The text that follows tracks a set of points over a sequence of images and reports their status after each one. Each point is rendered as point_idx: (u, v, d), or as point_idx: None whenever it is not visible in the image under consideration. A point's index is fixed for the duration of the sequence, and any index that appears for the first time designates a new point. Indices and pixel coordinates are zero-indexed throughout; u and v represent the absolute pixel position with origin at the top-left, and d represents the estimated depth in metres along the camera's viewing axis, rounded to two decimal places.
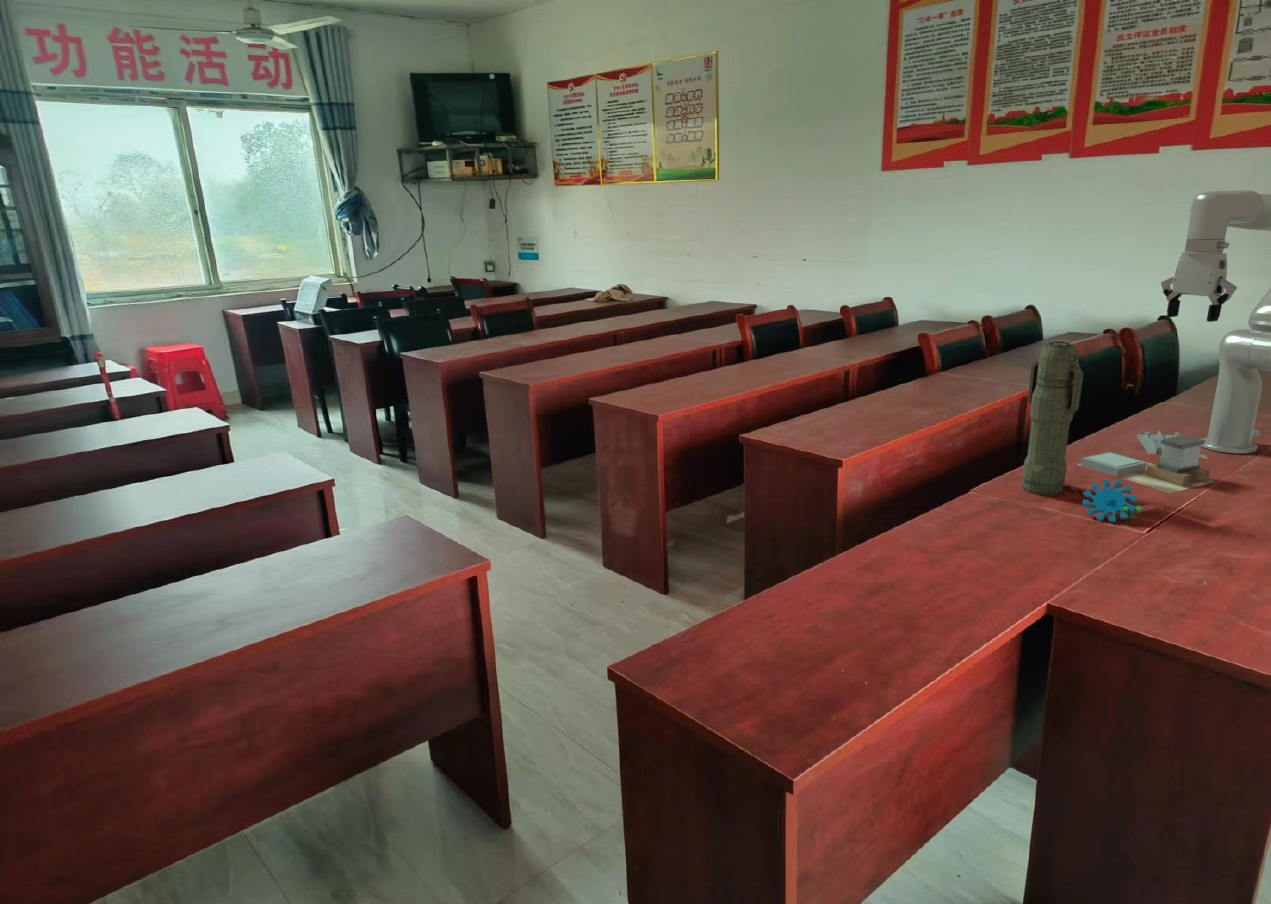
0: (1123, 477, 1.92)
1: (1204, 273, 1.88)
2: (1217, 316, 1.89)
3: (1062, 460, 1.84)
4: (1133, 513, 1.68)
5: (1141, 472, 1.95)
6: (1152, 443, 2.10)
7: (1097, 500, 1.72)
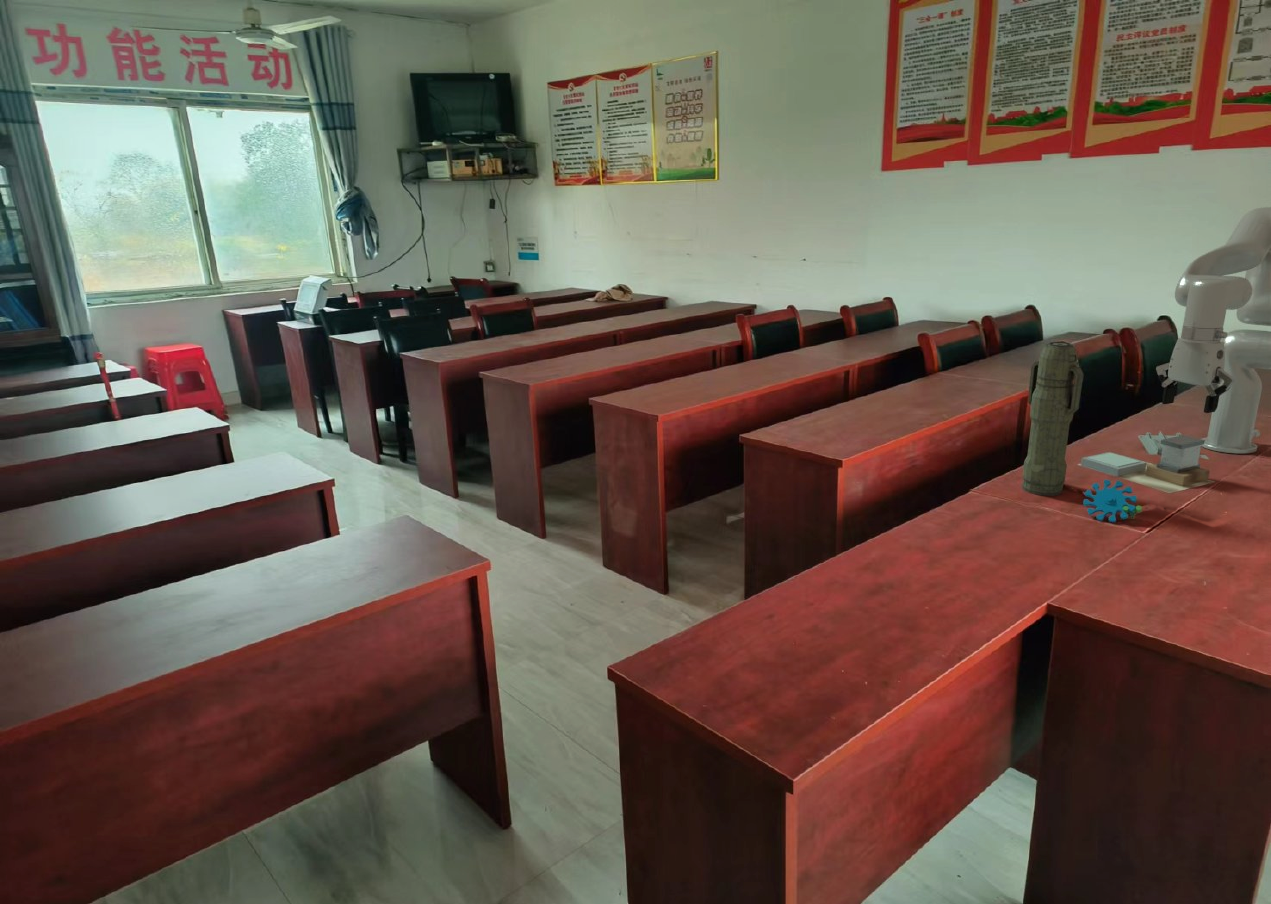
0: (1123, 477, 1.92)
1: (1201, 362, 1.79)
2: (1215, 407, 1.79)
3: (1062, 460, 1.84)
4: (1133, 513, 1.68)
5: (1141, 472, 1.95)
6: (1153, 444, 2.09)
7: (1097, 500, 1.72)
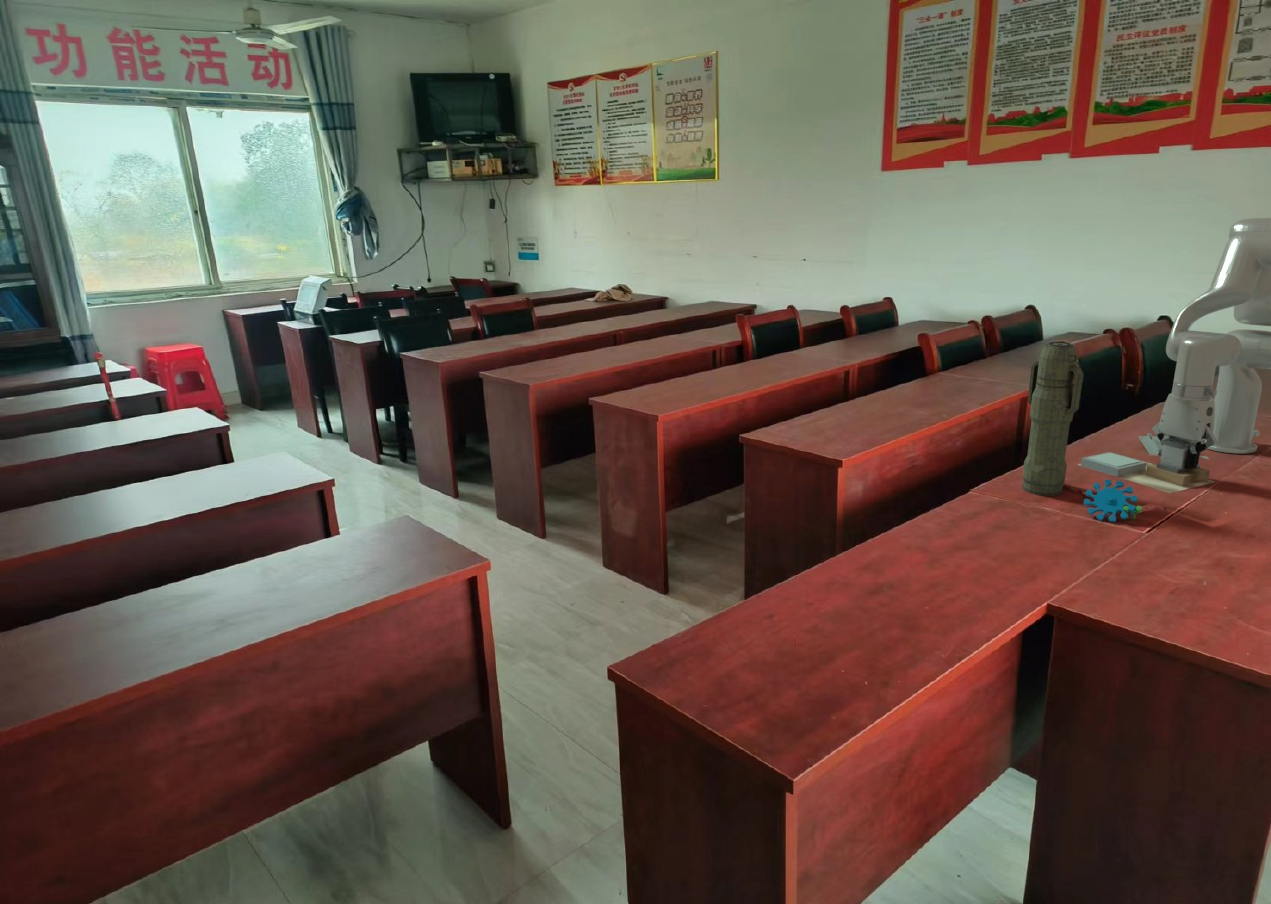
0: (1123, 477, 1.92)
1: (1191, 418, 1.83)
2: (1195, 464, 1.86)
3: (1062, 460, 1.84)
4: (1134, 513, 1.68)
5: (1141, 472, 1.95)
6: (1154, 445, 2.09)
7: (1098, 499, 1.72)
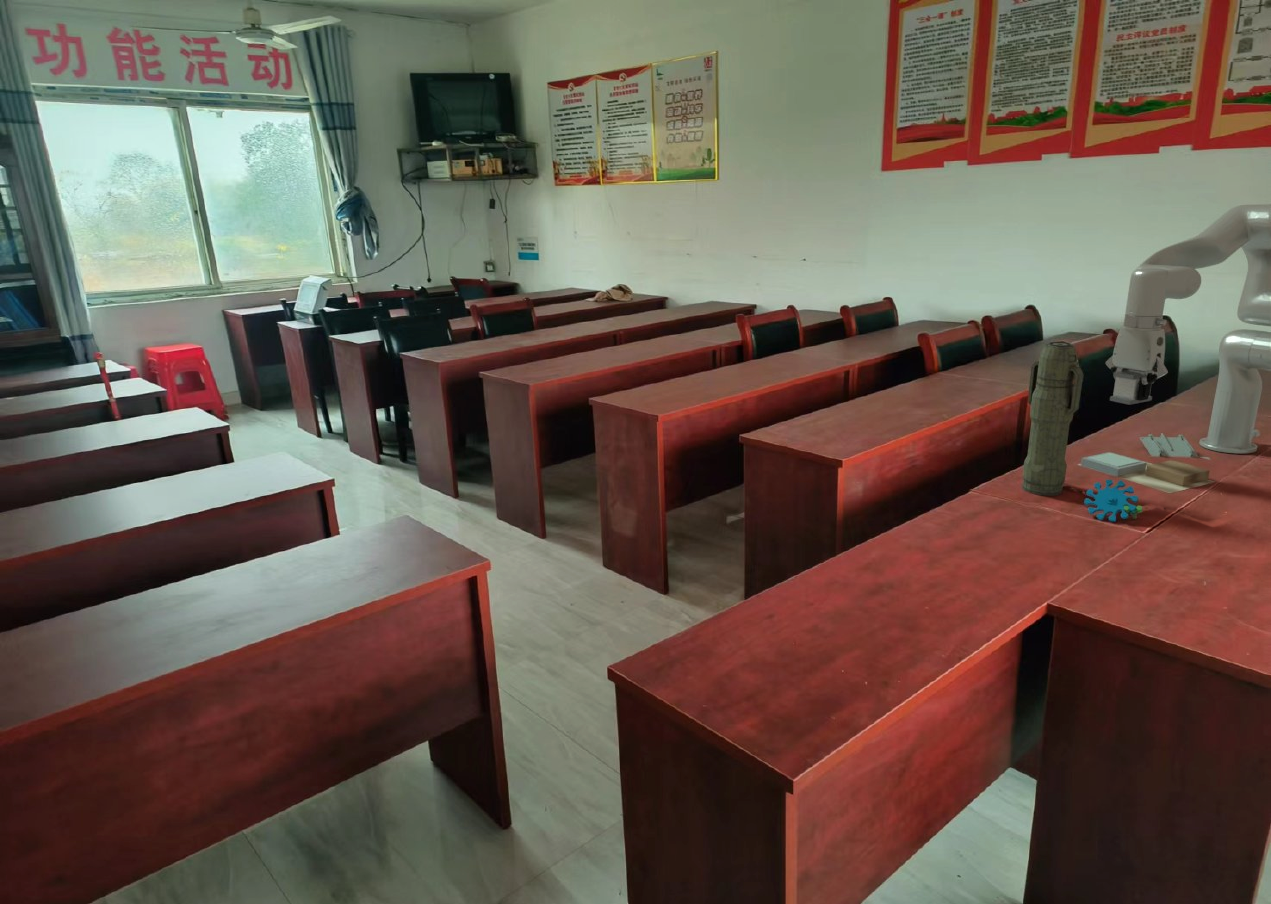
0: (1123, 477, 1.92)
1: (1142, 349, 1.86)
2: (1147, 395, 1.89)
3: (1062, 460, 1.84)
4: (1134, 513, 1.68)
5: (1141, 472, 1.95)
6: (1155, 446, 2.08)
7: (1099, 499, 1.72)
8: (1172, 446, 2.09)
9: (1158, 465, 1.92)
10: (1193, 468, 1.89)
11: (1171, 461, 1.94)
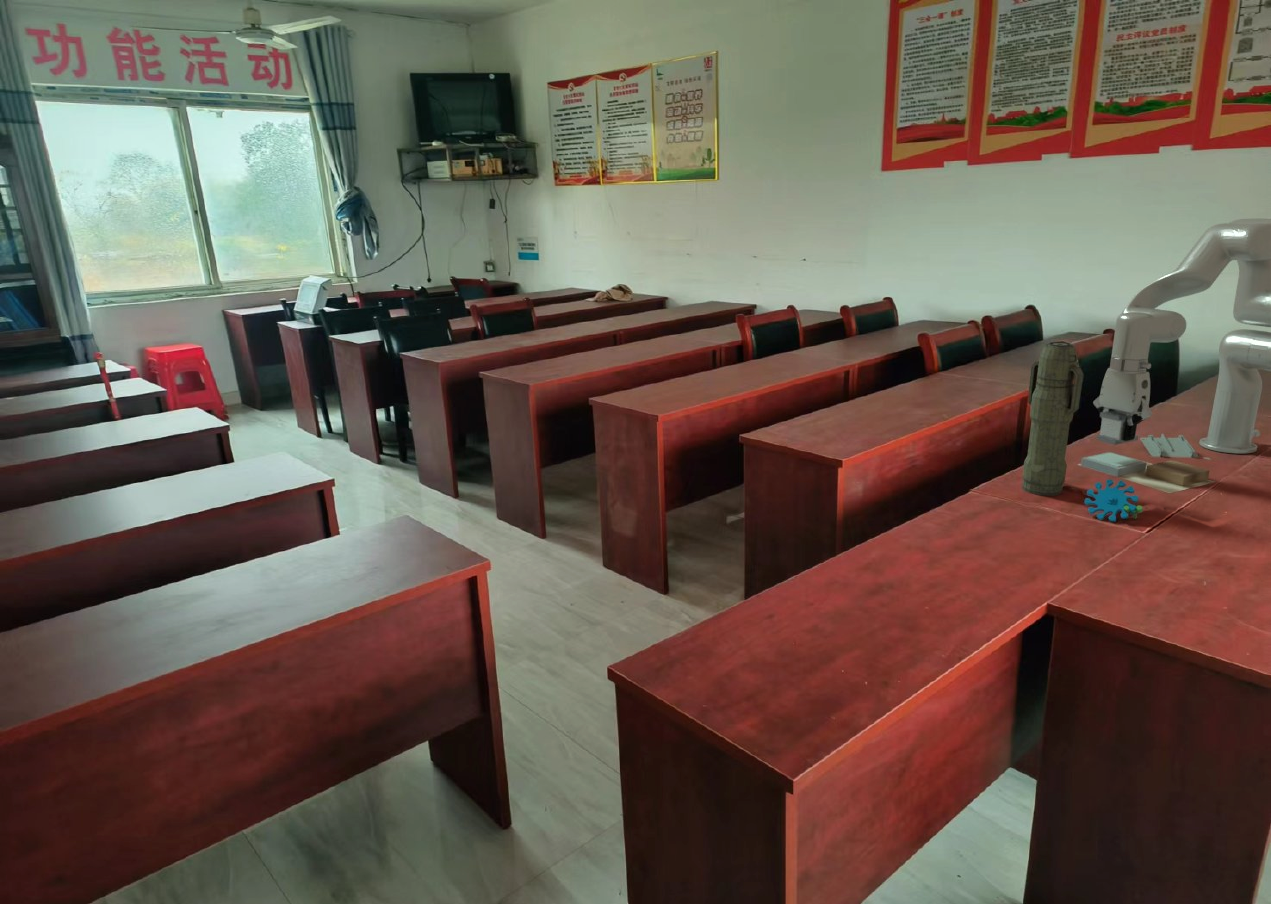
0: (1123, 477, 1.92)
1: (1127, 391, 1.90)
2: (1133, 436, 1.93)
3: (1062, 460, 1.84)
4: (1134, 513, 1.68)
5: (1141, 472, 1.95)
6: (1156, 446, 2.07)
7: (1099, 499, 1.72)
8: (1172, 447, 2.09)
9: (1158, 465, 1.92)
10: (1193, 468, 1.89)
11: (1171, 461, 1.94)
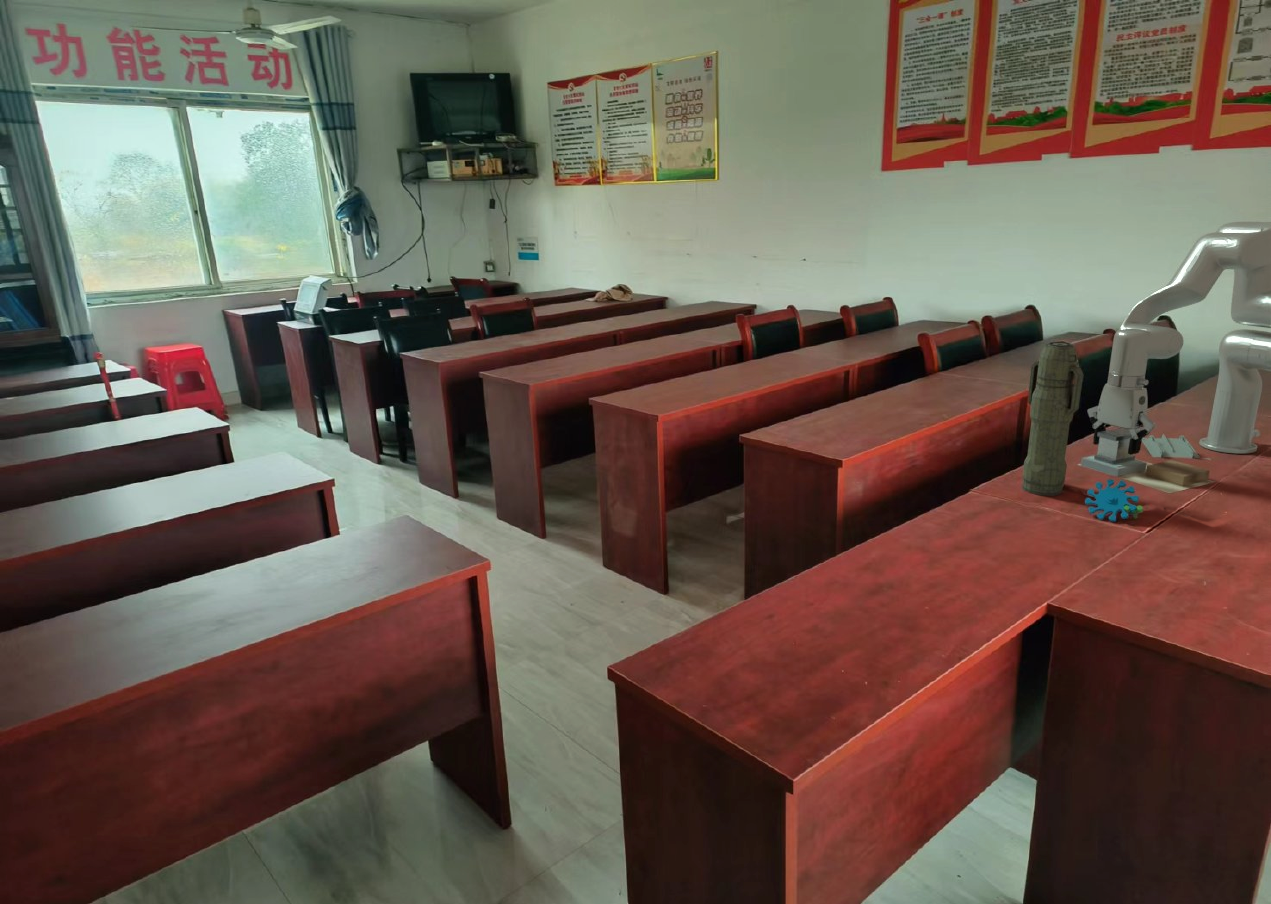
0: (1123, 477, 1.92)
1: (1125, 407, 1.91)
2: (1138, 449, 1.92)
3: (1062, 460, 1.84)
4: (1135, 513, 1.68)
5: (1141, 472, 1.95)
6: (1157, 447, 2.07)
7: (1099, 499, 1.72)
8: (1173, 447, 2.08)
9: (1158, 465, 1.92)
10: (1193, 468, 1.89)
11: (1171, 461, 1.94)
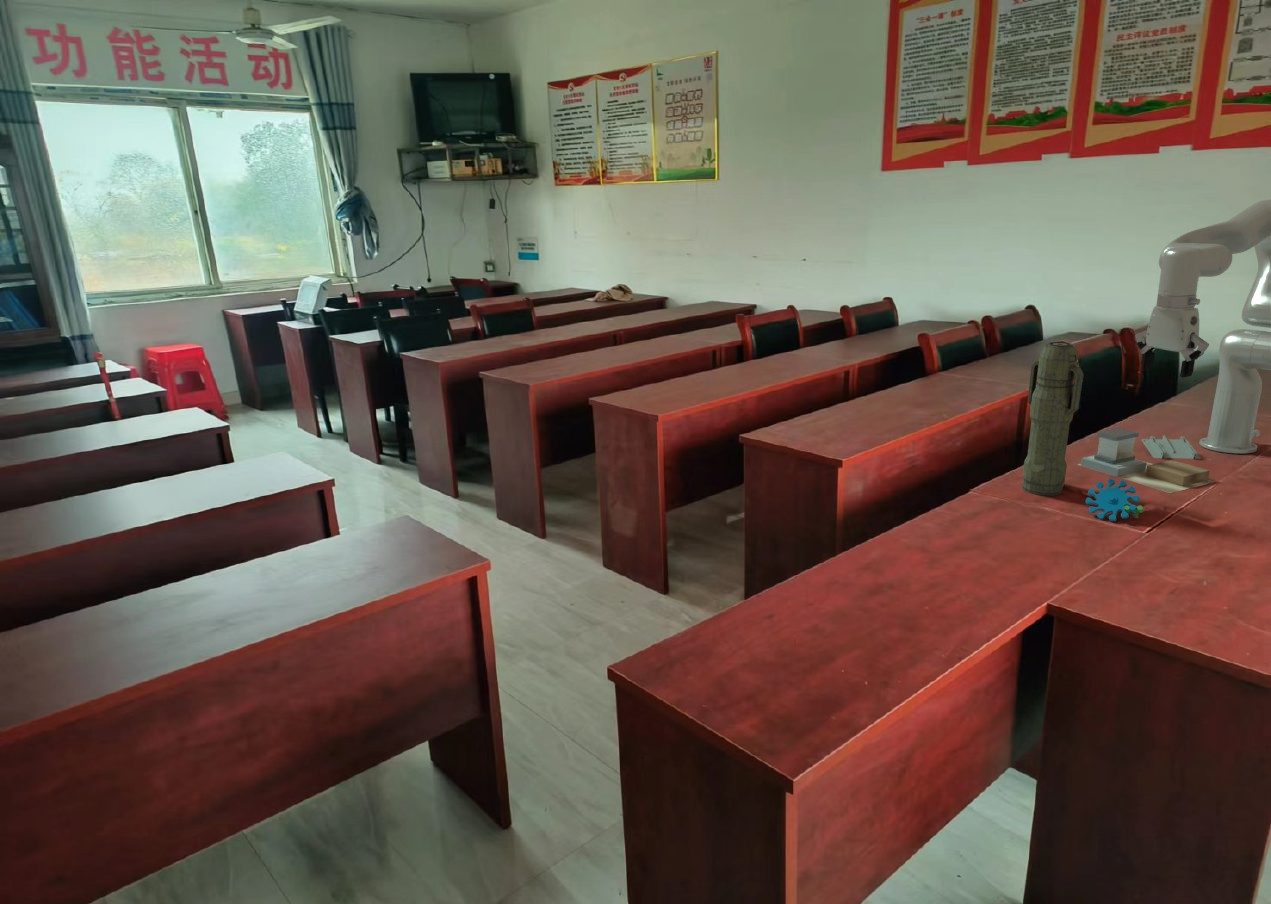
0: (1123, 477, 1.92)
1: (1176, 329, 1.85)
2: (1190, 372, 1.86)
3: (1062, 460, 1.84)
4: (1135, 513, 1.68)
5: (1141, 472, 1.95)
6: (1158, 448, 2.06)
7: (1100, 498, 1.73)
8: (1174, 448, 2.08)
9: (1158, 465, 1.92)
10: (1193, 468, 1.89)
11: (1171, 461, 1.94)
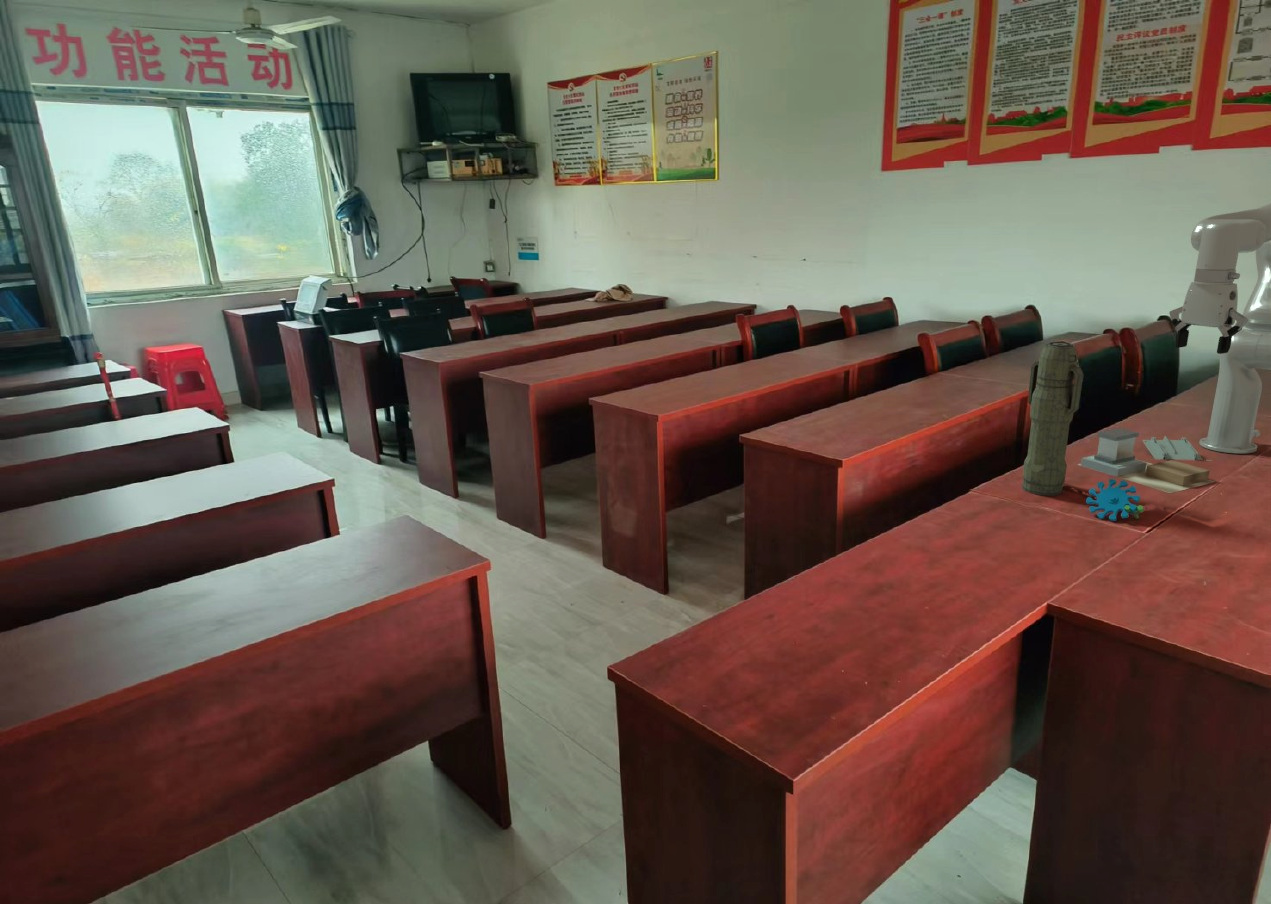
0: (1123, 477, 1.92)
1: (1214, 304, 1.83)
2: (1227, 348, 1.84)
3: (1062, 460, 1.84)
4: (1135, 513, 1.69)
5: (1141, 472, 1.95)
6: (1159, 449, 2.05)
7: (1100, 498, 1.73)
8: (1176, 449, 2.07)
9: (1158, 465, 1.92)
10: (1193, 468, 1.89)
11: (1171, 461, 1.94)
